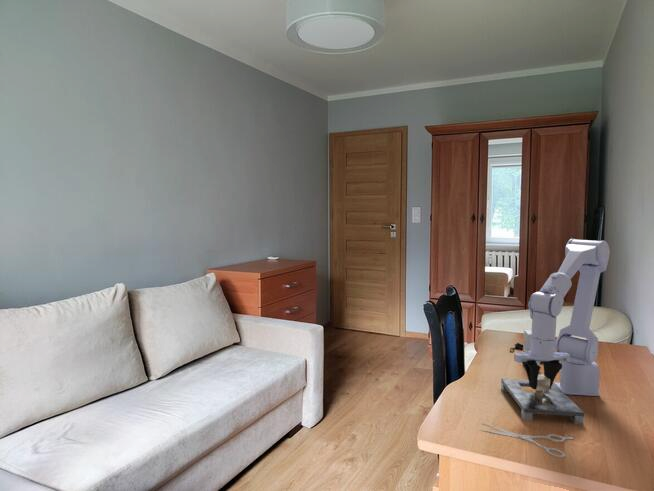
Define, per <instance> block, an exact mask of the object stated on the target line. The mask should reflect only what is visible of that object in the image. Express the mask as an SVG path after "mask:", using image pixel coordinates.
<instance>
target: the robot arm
mask: <svg viewBox="0 0 654 491" xmlns="http://www.w3.org/2000/svg"><path fill="white" fill-rule="evenodd" d="M609 246H610V245H609V243H608V242H607V241H606V240H590V239H589V240H588V239H576V238H570V239H569V240H568V241H567V242H566V245H565V249H564V251H565V253H564V255H565V258H564V259H563V261H562V263H561V265H560V266H559V269H558V271H557V272H553V273H551V274H550V275H549V277H548V278H547V279H546V281H545V283H544V284H543V285H542V287H541V288H540V290H539V291H536V292H534V293H532V294H531V295H530V297H529V300H528V304H527V306H528V310H529V314H530V315H529V316H530V319H531V330H532V332H531V350H530V351H528V352H523V351H522V352H517V353H516V352H513V353H514V354H513V361H514V362H517V363H518V364H520V363H521V364H522V363H523V364H522V366H523V365H524V366H523V368H524V369H525V372H526V376H527V378H528V379H527V380H529V385H530V387H529V388H531V389H533V390H535V389H536V388H537V378H538V374H539V373H540V371H541V368H542V367H541V365H540V366H538V365H537V363H536V362H537V361H543V364H542V366H543V375H545V376H546V377H548V378H549V379H550V389H551V387H552V384H553V383H554V384H555V385H556V386H557V387H558V388H559V389H560V390H561V391H562V392H563V393H564V394H565V395H574V396H589V397H590V396H591V397H600V396H601V395H600V393H599V391H600V378H601V373H600V366H599V364H598V363H597V362H595V361H596V360H597V358H598V355H599V338H598V337H597V335H596V334H595V333H594V332H593V330H592V329H590V326H591V321H592V317H593V313H594V312H593V311H594V308H595V307H594V305H595V301H596V296H597V290H598V287H599V280H600V277H601V273H603V272H606V271H607V267H608V264H609V259H610V253H611V250H610V247H609ZM578 271H579V276H578V283H577V286H576V288H577V289H576V292H575V297H574V303H573V307H572V308H573V309H572V312H571V313H572V314H571V318H570V322H569V325H566V326H564V327H563V328H561V329H560V330H559V334H558V335H557V337H556V334H557V333H556V332H557V331H556V330H557V317H558V316H559V315H560V314H561V312H562V309H563V304H564V303H565V301H564V298H565V297H566V295H567V293H568V292H569V290H570V289H571V287H572V285H573V283H572V280H571V279H572V278H573V277H574V275H575V274H576V273H577V272H578ZM574 336H575V337H574ZM559 372H560V373H559ZM558 373H559V374H560V375H559V376H560V377H559V382H557V381H556V382H555V379H556V376H557V375H558Z"/></svg>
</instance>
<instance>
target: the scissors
mask: <svg viewBox="0 0 654 491" xmlns="http://www.w3.org/2000/svg"><path fill="white" fill-rule="evenodd" d="M481 424H483V425H486V426H488V427H490V428H493V429H495V430H497V431H493V430H485V429H481V431H483V432H485V433H486V432H488V433H492V434H496V435H501V436H505V437H512V438H515V439H516V438H517V439H521V440H524V441H527V442H529V443H532V444H533V445H536V447H539V448H542V449H544V450H545V452H546V453H548V454H549V455H550V456H553V457H556V458H566V454H565V452H564V451H561V450H560V449H558V448H554V447H548V446H547V447H546V446H544V445H542V444H540V443H538V442H537V441H535V440H536V439H545V440H550V441H551V442H554V443H564V442H565V441H566V440H574V437H572V436H568V437H565V436H561V435H559V434H555V433H549V434H547V435H534V436H533V435H528V434H518V433H514V432H511V431H509V430H506V429H504V428H499V427H496V426H493V425H490V424H488V423H483V422H481ZM499 431H501V432H499ZM552 437H556V438H559V439H555V438H552ZM534 439H535V440H534ZM551 451H554V452H557V453H560V454H561V455H557V454H554V453H553V452H551Z"/></svg>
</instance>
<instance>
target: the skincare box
mask: <svg viewBox="0 0 654 491" xmlns="http://www.w3.org/2000/svg"><path fill="white" fill-rule="evenodd" d="M531 332H532V329H524V330H523V341H522V342H523V344H522V345H523V350H522V352H528V351H530V350H531ZM536 363H537V365H538V366H540V367H541V364H540V361H537V362H536ZM521 364H522V366H523V367H524V365H523V363H522V362H521Z"/></svg>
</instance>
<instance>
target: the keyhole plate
mask: <svg viewBox="0 0 654 491" xmlns="http://www.w3.org/2000/svg"><path fill="white" fill-rule="evenodd" d="M523 387H526V388H527V387H528V388H531V387H530V385H529V380H528V379H517V378H515V379H514V378H501V384H500V389H501V391H502V392H508V393H509V394H510V395H511V397H512V398H513V400H514V401H515V403H516V404H517V405H518V406H519V408H520V410H521V412H520V414H521V415H520V417H521V419H522V420H523V421H528V422H533V416H534V415H533V414H541V415H556V416H568V417H569V416H570V420H571V422H572V423H574V424H575V425H584V420H585V412H584V411H583V410H582V409H581V408H580V407H579V406H578V405H577V404H576V403H575V402H574V401H573V400H572V399H571V398H570V397H569V396H567V394H564V393H563V392H562V391H561V390H560V389H559V388H558V387H557V386H556V385H555V384H554V382H553V384H552V387H551V389H550V390H545V391H543V399H545V400H547V401H548V404H542V403H541V401H540V400H539V399H538V398H537V397H536V396H535V393H534V392H531V391H529V392H528V391H525V389H524V388H523Z"/></svg>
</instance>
